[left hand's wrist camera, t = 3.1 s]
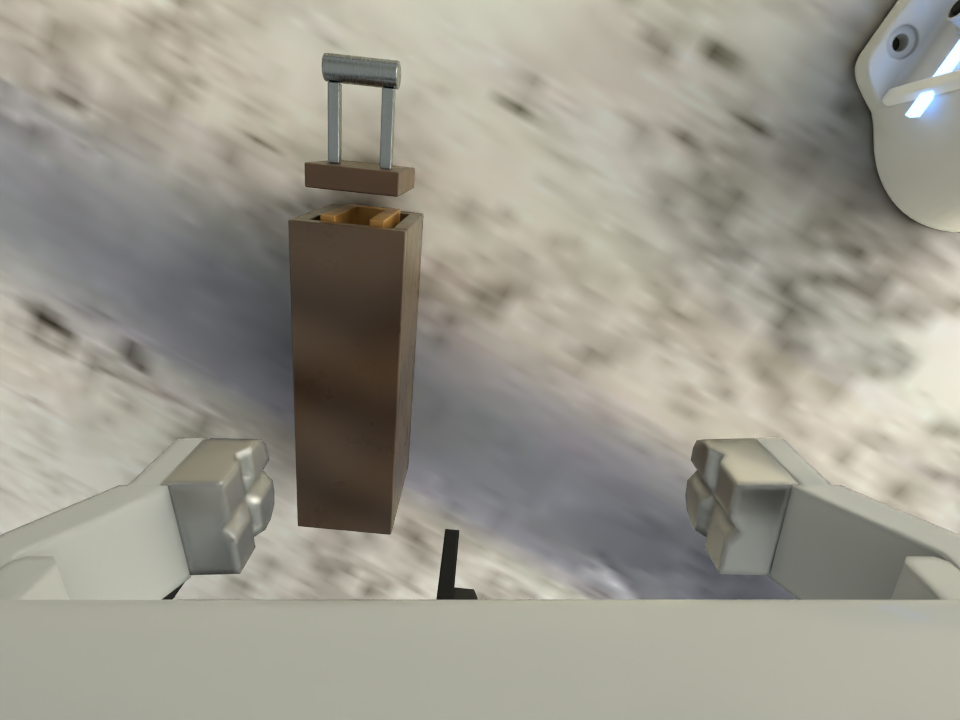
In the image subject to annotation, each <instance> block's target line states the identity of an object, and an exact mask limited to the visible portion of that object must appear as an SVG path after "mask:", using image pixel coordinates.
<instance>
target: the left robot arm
mask: <svg viewBox="0 0 960 720" xmlns="http://www.w3.org/2000/svg"><path fill="white" fill-rule="evenodd" d="M895 37H897V38H898V39H899V47H898V48H897V50H896V51H895V50H894V49H893V47H892V43H893V40H894V39H895ZM855 78H856V82H857V85H858V87H859V89H860V92H861V94H862V96H863V98H864V100H865V102H866V104H867V105H868V107H869V109H870V111H871V114H872V119H873V135H874V155H875V162H876V166H877V170H878V174H879V177H880V180H881V182H882V184H883V186H884V189H885V190H886V192H887V194H888V195H889V197H890V198H891V200H892V201H893V202H894V203H895V205H896V206H897V207H898V208H899V209H900V210H901V211H902V212H903V213H905V214H906V215H907V216H909V217H910V218H912V219H913V220H915V221H917V222H919V223H921V224H923V225H925V226H928V227H931V228H934V229H938V230H943V231H950V232H960V0H898V1H897V2H896V4H895V5H894V6H893V8H892V9H891V11H890V12H889V13H888V15H887V16H886V18H885V19H884V20H883V22H882V23H881V25H880V26H879V28H878V29H877V30H876V32H875V33H874V35H873V36H872V37H871V39H870V40H869V42H868V43H867V45H866V46H865V47H864V49H863V50H862V52H861V53H860V55H859V57H858V59H857V61H856V65H855ZM268 461H269V457H268V452H267V447H266V444H265V443H264V442H263V441H262V440H261V439H224V438H209V439H208V438H182V439H176V440H175V441H174V442H173V443H172V444H171V445H170V446H169V447H168V448H167V449H166V450H165V451H164V452H163V453H162V454H160V455H159V456H158V457H157V458H156V459H155V460H154V461H153V462H152V463H151V464H150V465H149V466H148V467H147V468H146V469H145V470H144V471H143V472H141V473H140V474H139V475H138V476H137V477H136V478H135V479H134V480H133V481H132V482H131V483H130V484H129V485H119V486H116V487H114V488H112V489H109V490H107V491H104V492H102V493H100V494H97V495H95V496H92V497H90V498H88V499H85V500H83V501H80V502H78V503H76V504H73V505H71V506H69V507H66V508H64V509H61V510H59V511H57V512H54V513H52V514H49V515H47V516H45V517H42V518H40V519H37V520H35V521H33V522H30V523H28V524H25V525H23V526H21V527H18V528H16V529H14V530H11V531H9V532H6V533H4V534H2V535H0V720H960V535H958V534H956V533H953V532H951V531H949V530H946V529H944V528H941V527H939V526H937V525H934V524H932V523H929V522H927V521H925V520H922V519H920V518H918V517H915V516H913V515H910V514H908V513H906V512H903V511H901V510H898V509H896V508H894V507H891V506H889V505H887V504H884V503H882V502H879V501H877V500H875V499H872V498H870V497H867V496H865V495H863V494H860V493H858V492H856V491H853V490H851V489H848V488H846V487H844V486H841V485H831V484H830V483H829V482H828V481H827V480H826V479H825V478H824V477H823V476H822V475H821V474H820V473H819V472H818V471H817V470H815V469H814V468H813V467H812V466H811V465H810V464H809V463H808V462H807V461H806V460H805V459H804V458H803V457H802V456H801V455H800V454H799V453H798V452H796V451H795V450H794V449H793V448H792V447H791V446H790V445H789V444H788V443H787V442H786V441H785V440H783V439H780V438H745V439H704V440H697V441H696V443H695V445H694V447H693V451H692V457H691V461H692V462H693V464H694V466H695V467H696V469H697V471H696V472H695V473H694V474H693V475H692V476H691V477H690V478H689V479H688V480H687V488H686V495H685V496H686V507H687V512H688V516H689V519H690V521H691V523H692V525H693V527H694V529H695V530H696V531H698V532H699V533H701V534H702V535H704V536H705V537H706V542H705V548H706V550H707V552H708V554H709V555H710V557H711V559H712V561H713V562H714V564H715V566H716V568H717V569H718V571H719V573H720V574H750V575H770V576H769V577H770V578H771V579H772V580H774V581H775V582H776V583H778V584H779V585H780V586H782V587H783V588H784V589H786V590H787V591H788V592H790V593H791V594H792V595H793V596H795V597H796V598H797V599H799V600H161V599H163V598H164V597H165V596H167V595H168V594H169V593H171V592H172V591H173V590H175V589H176V588H177V587H179V586H180V585H181V584H183V583H184V582H185V581H186V580H188V579H189V578H190V575H209V574H240V573H241V571H242V569H243V568H244V566H245V564H246V562H247V561H248V559H249V557H250V555H251V554H252V552H253V550H254V548H255V542H254V537H255V536H256V535H258V534H259V533H261V532H262V531H264V530H265V529H266V527H267V525H268V523H269V521H270V519H271V516H272V511H273V507H274V487H273V480H272V479H271V478H270V477H269V476H268V475H267V474H266V473H265V472H264V471H263V469H264V467H265V466H266V464H267V462H268Z"/></svg>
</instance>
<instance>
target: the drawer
mask: <svg viewBox="0 0 960 720" xmlns="http://www.w3.org/2000/svg"><path fill="white" fill-rule="evenodd" d="M322 73H323V77H324V80H325V81H327V82H328V161H318V162H307V163H305V186H306V187H311V188H320V189H330V190H339V191H349V192H358V193H367V194H377V195H386V196H396V197H397V196H399V195H401V194H403V193H405V192H407V191H409V190H410V189H412V188H414V174H415V169H414V168H410V167H400V166H393V142H394V116H395V89H399V87H400V82H401V66H400V62H399V61H395V60H386V59H377V58H368V57H359V56H350V55H341V54H332V53H324V55H323V58H322ZM341 83H344V84H353V85H362V86H371V87H381V88H382V113H381V146H380V164H373V163H363V162H354V161H345V160H341V139H342V84H341ZM320 218H321V221H328V222H338V223H347V224H357V225H367V226H376V227H386V228H394V227H395V226H396V225H397V224H399V223H400V209H393V208H383V207H374V206H364V205H355V204H346V205H343V206H340V207H338V208H335V209H333V210H330V211H328V212H325V213H323V214H321V215H320Z"/></svg>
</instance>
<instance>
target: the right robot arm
mask: <svg viewBox="0 0 960 720" xmlns="http://www.w3.org/2000/svg"><path fill="white" fill-rule="evenodd" d="M458 539H459V530H450V529H445V536H444V544H443V552H442V560H441V568H440V576H439V584H438V592H437V600H477V596H476V594H475V591H474V589H463V588H454V584H455V573H456V562H457V551H458ZM183 584H184V583H183ZM183 584H181V585H180V586H179V587H177V588H176V589H175V590H173V591H172V592H171V593H169V594H168V595H167V596H165V597H164V598H163V599H161V600H172V599H173V598H174V597H175V595H176V594H177V592H178V591H179V589H180V588H181V587H182V585H183Z"/></svg>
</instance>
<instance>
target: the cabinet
mask: <svg viewBox="0 0 960 720" xmlns="http://www.w3.org/2000/svg"><path fill="white" fill-rule="evenodd" d="M340 206H343V205H336V204H331V205H328V206H325V207H322V208H320V209H317V210H314V211H311V212H309V213H306V214H303V215H301V216H298V217H295V218H293V219H290V220H289V252H290V284H291V316H292V349H293V381H294V414H295V446H296V478H297V511H298V526H304V527H314V528H325V529H336V530H347V531H357V532H368V533H379V534H391V532H392V528H393V524H394V520H395V516H396V512H397V508H398V504H399V501H400V497H401V493H402V489H403V485H404V481H405V477H406V473H407V469H408V463H409V446H410V430H411V413H412V396H413V380H414V363H415V346H416V330H417V313H418V296H419V280H420V263H421V246H422V230H423V214H421V213H411V212H402V211H400V223H399V224H397V225H396V226H395V227H394V228H386V227H376V226H367V225H357V224H347V223H338V222H328V221H321V218H320V215H321V214H323V213H325V212H328V211H330V210H333V209H335V208H338V207H340Z"/></svg>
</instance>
